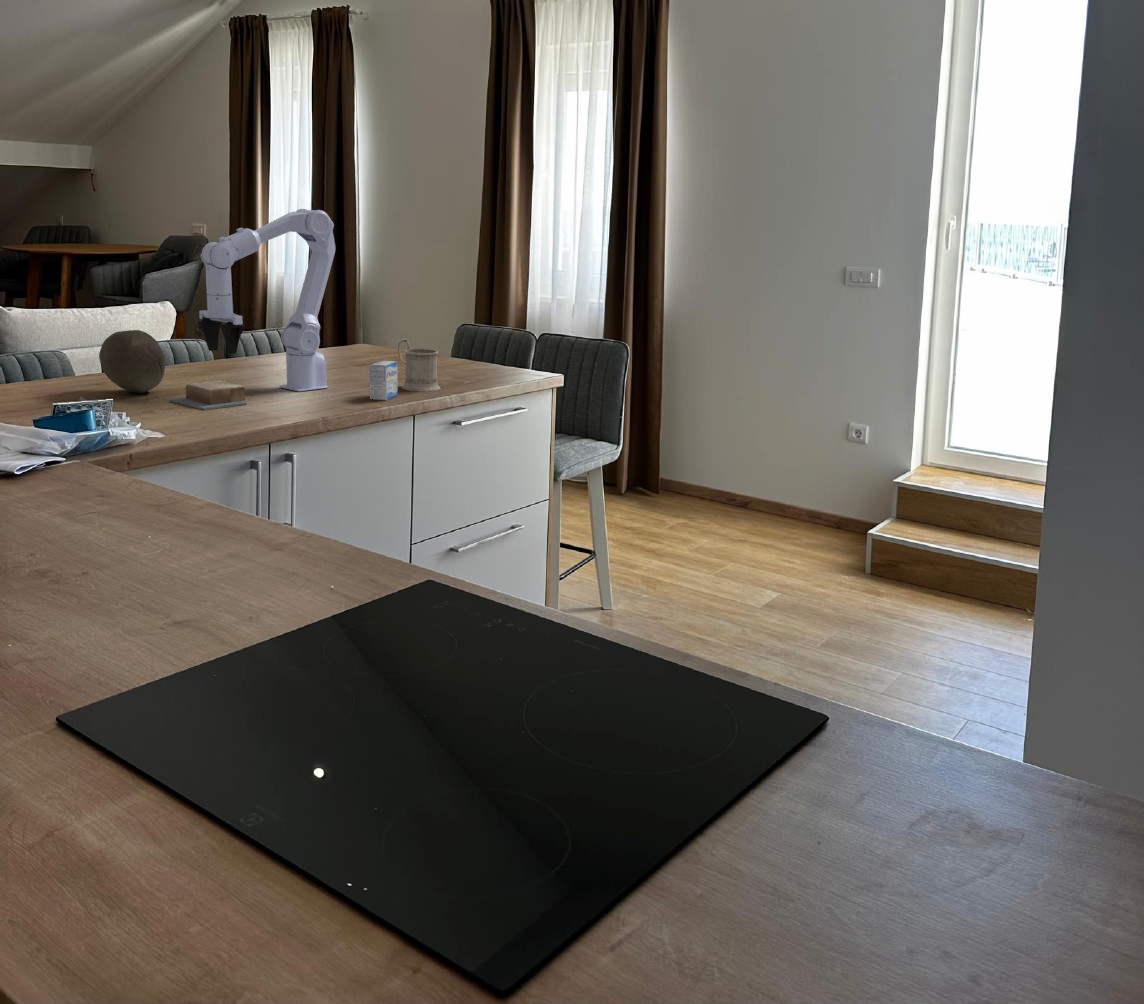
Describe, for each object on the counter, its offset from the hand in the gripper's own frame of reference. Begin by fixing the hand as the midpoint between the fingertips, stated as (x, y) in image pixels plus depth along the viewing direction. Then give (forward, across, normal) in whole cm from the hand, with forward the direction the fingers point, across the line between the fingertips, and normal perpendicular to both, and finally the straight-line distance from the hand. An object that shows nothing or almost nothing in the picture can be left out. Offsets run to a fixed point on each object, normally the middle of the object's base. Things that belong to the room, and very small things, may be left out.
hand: (222, 352), depth 265 cm
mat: (+10, +7, -9) cm, 15 cm away
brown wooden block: (+8, +7, -2) cm, 11 cm away
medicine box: (+11, +26, +27) cm, 39 cm away
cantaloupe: (+10, -14, -15) cm, 23 cm away
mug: (+11, +20, +44) cm, 50 cm away
